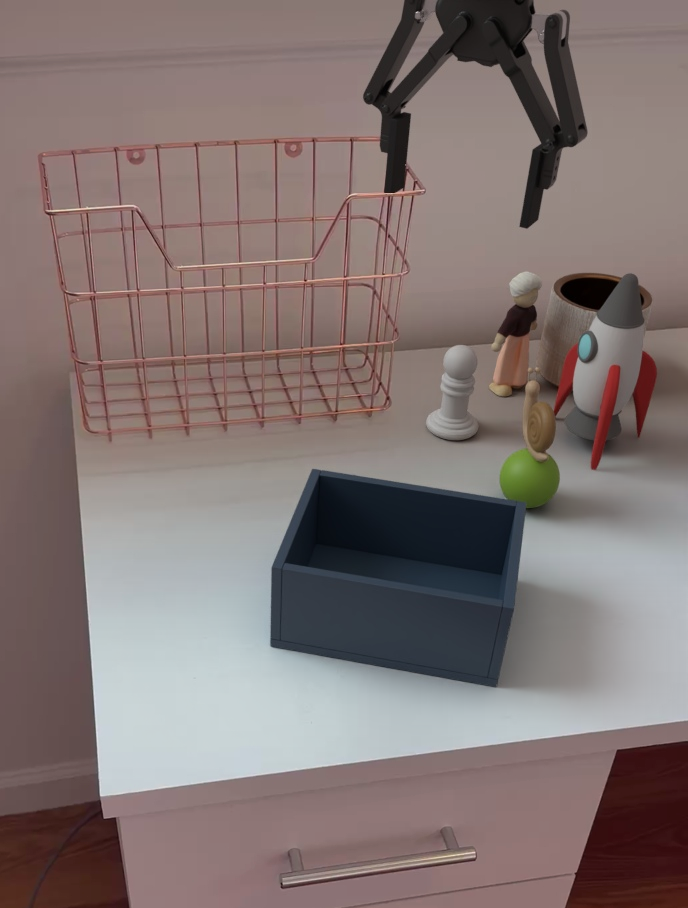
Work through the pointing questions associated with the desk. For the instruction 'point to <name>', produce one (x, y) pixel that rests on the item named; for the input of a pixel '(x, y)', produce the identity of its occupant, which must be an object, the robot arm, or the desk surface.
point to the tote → (398, 576)
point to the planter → (575, 317)
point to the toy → (608, 370)
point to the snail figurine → (532, 454)
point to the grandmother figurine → (516, 335)
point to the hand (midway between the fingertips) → (459, 207)
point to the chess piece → (455, 396)
